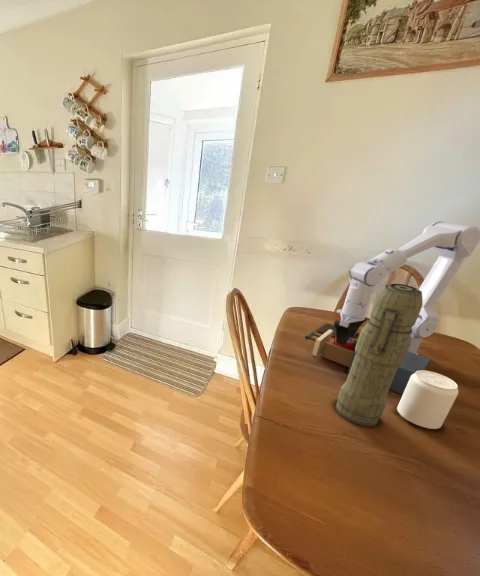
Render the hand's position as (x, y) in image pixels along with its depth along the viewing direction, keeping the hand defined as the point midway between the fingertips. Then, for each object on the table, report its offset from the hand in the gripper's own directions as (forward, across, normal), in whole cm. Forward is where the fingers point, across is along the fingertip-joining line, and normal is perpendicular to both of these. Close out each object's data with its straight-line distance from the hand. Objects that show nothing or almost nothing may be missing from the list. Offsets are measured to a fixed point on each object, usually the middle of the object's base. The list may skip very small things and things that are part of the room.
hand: (344, 339), depth 101 cm
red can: (+5, 0, 0) cm, 5 cm away
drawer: (+6, 0, -1) cm, 7 cm away
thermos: (+8, +25, +12) cm, 29 cm away
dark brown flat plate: (+7, -20, -6) cm, 22 cm away
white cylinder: (+8, +15, +22) cm, 27 cm away
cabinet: (+7, 0, +12) cm, 14 cm away
